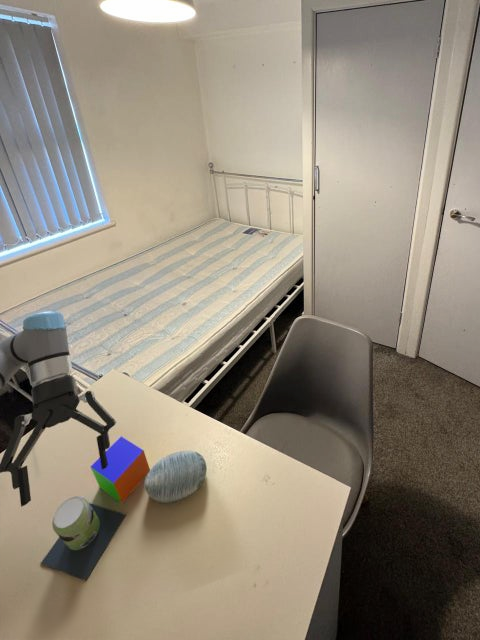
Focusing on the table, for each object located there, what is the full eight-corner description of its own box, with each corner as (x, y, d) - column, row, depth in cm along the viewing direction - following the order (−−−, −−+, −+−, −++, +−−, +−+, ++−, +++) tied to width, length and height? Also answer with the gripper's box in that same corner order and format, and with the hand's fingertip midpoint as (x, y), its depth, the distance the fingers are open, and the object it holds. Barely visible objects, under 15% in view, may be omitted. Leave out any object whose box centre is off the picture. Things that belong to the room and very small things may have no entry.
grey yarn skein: (210, 445, 83) (195, 442, 75) (214, 490, 78) (197, 492, 69) (159, 461, 83) (138, 460, 75) (159, 507, 77) (136, 512, 69)
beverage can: (96, 510, 73) (81, 479, 68) (106, 539, 68) (91, 508, 63) (63, 535, 69) (45, 503, 64) (72, 567, 64) (52, 536, 59)
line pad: (40, 564, 65) (40, 563, 65) (85, 502, 74) (84, 501, 74) (86, 580, 62) (85, 580, 62) (126, 515, 72) (125, 514, 72)
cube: (128, 456, 84) (121, 436, 81) (150, 470, 81) (143, 450, 77) (99, 486, 77) (90, 466, 74) (121, 503, 74) (113, 483, 71)
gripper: (117, 360, 81) (135, 451, 75) (-13, 403, 69) (-3, 513, 64) (113, 358, 74) (132, 457, 69) (-31, 405, 63) (-22, 528, 57)
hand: (67, 484), depth 66 cm, fingers open, 13 cm apart
